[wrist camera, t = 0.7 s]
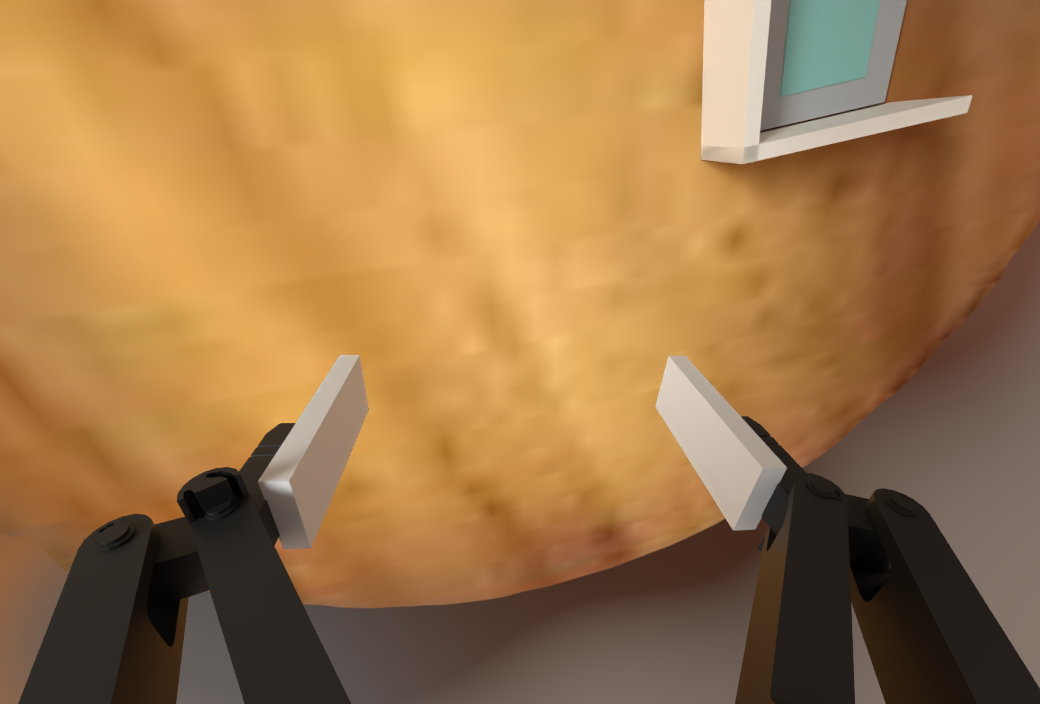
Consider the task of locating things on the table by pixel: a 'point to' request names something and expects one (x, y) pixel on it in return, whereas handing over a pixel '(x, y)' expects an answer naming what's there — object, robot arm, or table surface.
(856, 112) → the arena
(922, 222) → the table surface
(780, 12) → the mat
